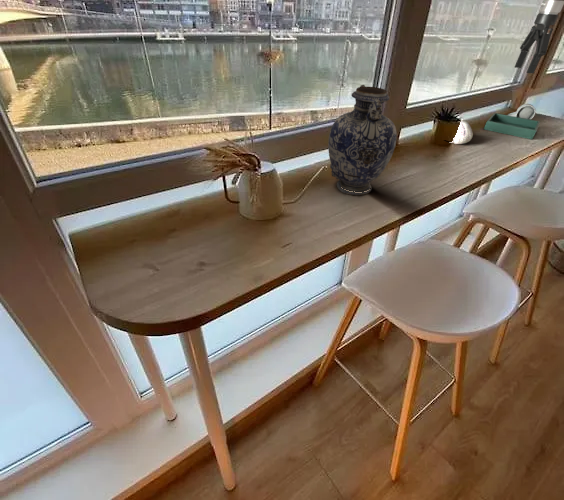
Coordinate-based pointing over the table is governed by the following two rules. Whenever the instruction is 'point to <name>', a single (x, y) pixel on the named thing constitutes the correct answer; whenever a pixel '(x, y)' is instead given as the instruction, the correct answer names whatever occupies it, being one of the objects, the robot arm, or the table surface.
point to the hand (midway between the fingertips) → (523, 70)
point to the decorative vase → (361, 142)
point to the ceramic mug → (524, 112)
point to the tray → (512, 125)
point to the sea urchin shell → (463, 133)
